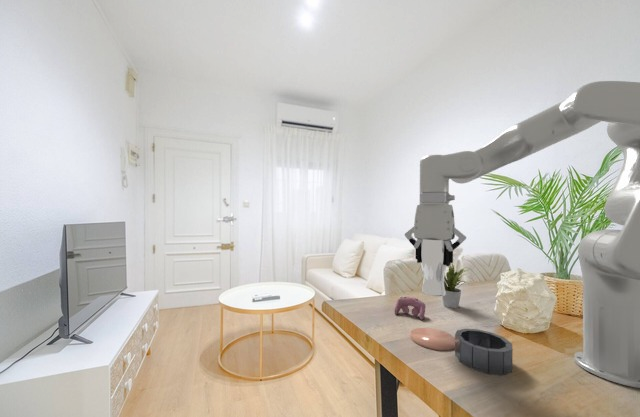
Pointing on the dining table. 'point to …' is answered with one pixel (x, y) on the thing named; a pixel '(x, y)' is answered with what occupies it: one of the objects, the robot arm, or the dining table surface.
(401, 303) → the video game controller
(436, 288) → the beer glass
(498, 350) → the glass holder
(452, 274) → the house plant
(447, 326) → the dining table surface
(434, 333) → the coaster
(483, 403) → the dining table surface
